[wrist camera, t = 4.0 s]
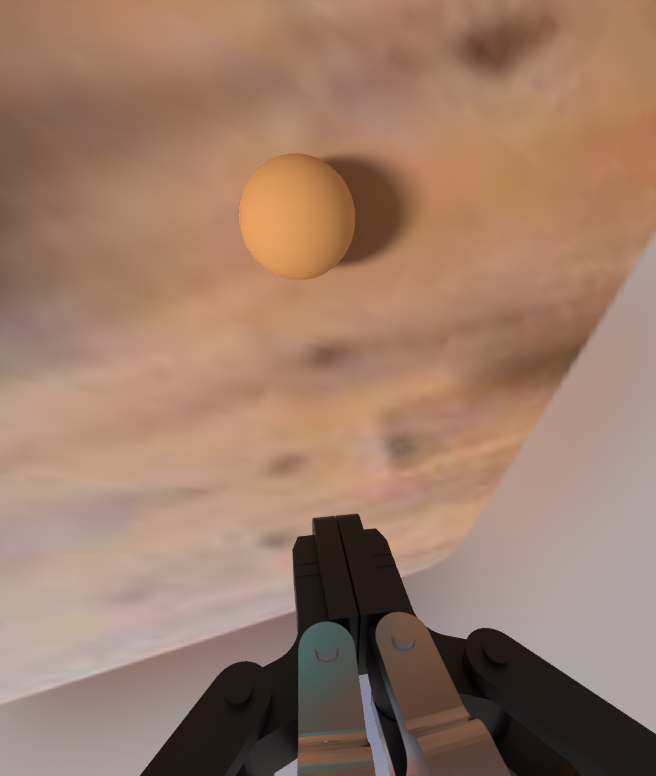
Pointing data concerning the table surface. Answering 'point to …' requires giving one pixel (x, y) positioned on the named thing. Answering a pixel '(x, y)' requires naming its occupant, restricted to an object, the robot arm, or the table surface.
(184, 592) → the table surface
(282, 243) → the ball
